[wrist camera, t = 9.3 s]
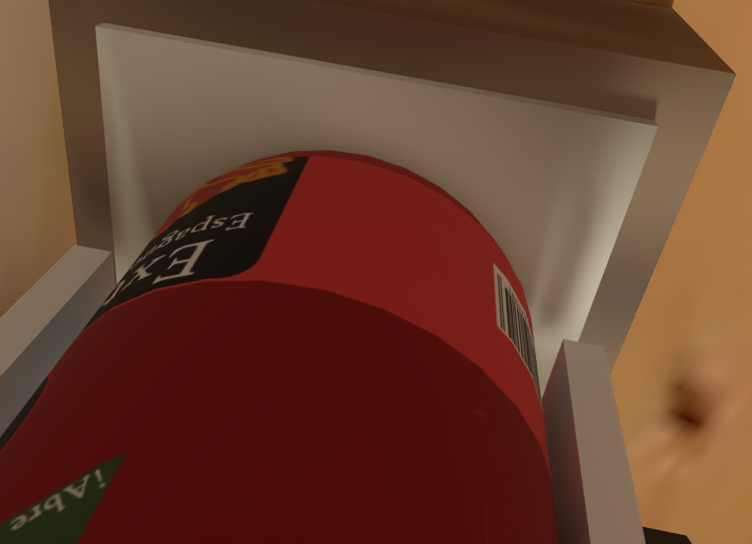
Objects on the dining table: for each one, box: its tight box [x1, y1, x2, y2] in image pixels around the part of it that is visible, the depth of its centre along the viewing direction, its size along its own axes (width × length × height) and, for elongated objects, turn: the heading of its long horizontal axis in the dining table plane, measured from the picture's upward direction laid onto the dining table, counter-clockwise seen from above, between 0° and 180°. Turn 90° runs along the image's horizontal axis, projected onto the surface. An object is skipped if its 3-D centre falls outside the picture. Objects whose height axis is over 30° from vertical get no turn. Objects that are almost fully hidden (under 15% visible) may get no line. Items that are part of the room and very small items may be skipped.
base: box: [49, 0, 736, 399], centre depth 17 cm, size 12×12×5 cm
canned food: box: [0, 150, 559, 544], centre depth 10 cm, size 8×8×11 cm
